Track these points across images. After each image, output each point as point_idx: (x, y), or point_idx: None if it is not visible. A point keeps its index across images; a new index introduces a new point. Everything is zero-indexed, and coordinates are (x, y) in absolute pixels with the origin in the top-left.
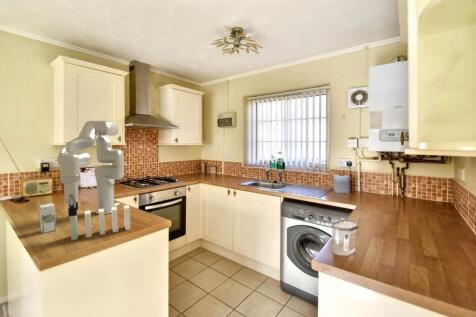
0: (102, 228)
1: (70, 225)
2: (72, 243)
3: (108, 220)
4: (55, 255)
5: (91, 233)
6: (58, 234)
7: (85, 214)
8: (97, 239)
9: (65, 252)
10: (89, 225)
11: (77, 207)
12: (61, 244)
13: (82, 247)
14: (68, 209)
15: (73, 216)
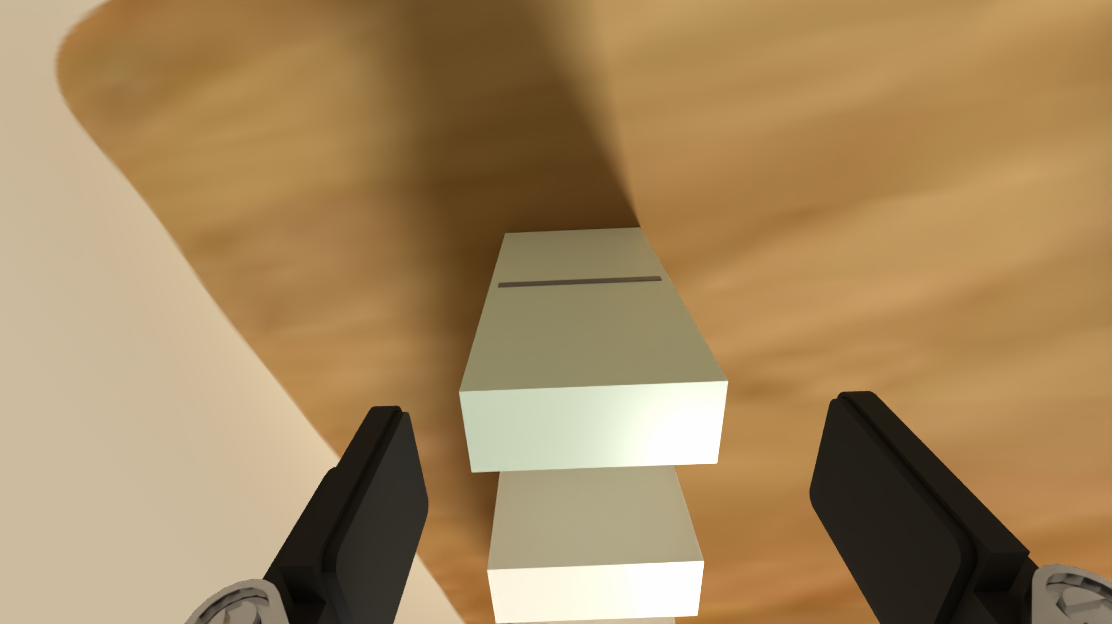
0: None
1: (485, 307)
2: (411, 255)
3: None
4: (146, 146)
5: None
6: (802, 61)
7: (490, 573)
8: (422, 432)
9: (200, 224)
10: None
11: (833, 537)
12: (427, 154)
13: (278, 343)
14: (294, 544)
15: (467, 436)
